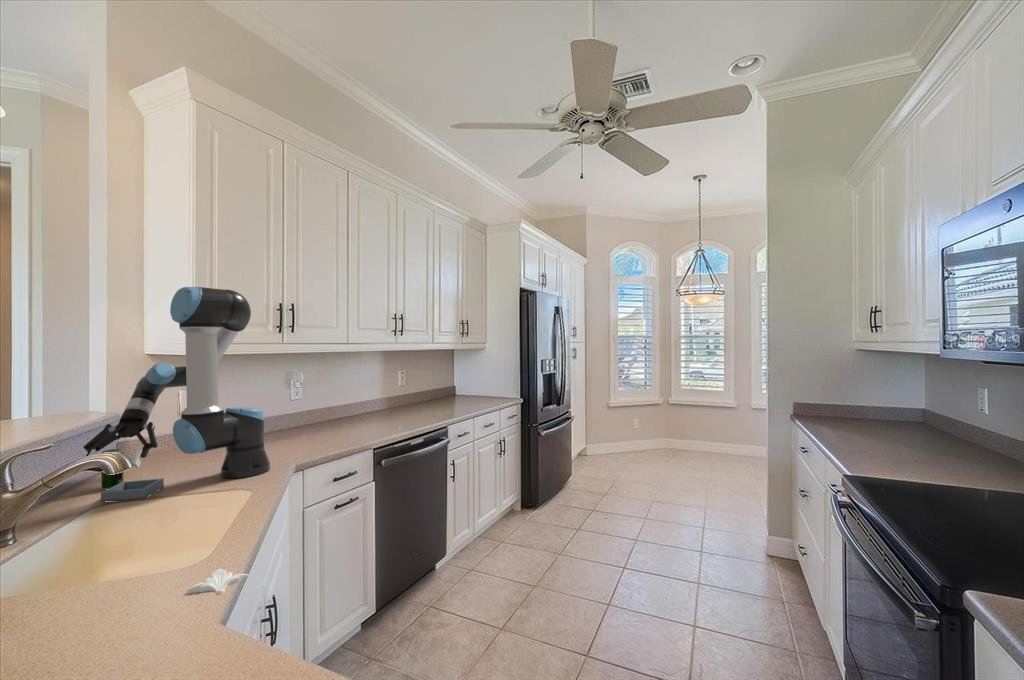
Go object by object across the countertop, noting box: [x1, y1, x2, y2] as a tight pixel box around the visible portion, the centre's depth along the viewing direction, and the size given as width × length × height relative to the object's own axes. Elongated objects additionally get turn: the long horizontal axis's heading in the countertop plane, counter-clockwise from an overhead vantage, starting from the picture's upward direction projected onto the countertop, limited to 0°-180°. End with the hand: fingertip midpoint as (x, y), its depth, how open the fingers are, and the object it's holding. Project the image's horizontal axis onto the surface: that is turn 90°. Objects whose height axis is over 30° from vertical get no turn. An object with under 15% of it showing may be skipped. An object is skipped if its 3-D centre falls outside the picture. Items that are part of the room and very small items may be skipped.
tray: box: [100, 477, 165, 503], centre depth 137 cm, size 11×11×3 cm
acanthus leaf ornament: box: [185, 568, 250, 595], centre depth 85 cm, size 8×7×2 cm
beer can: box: [100, 448, 124, 491], centre depth 145 cm, size 5×5×12 cm
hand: (111, 467), depth 145 cm, fingers open, 13 cm apart
